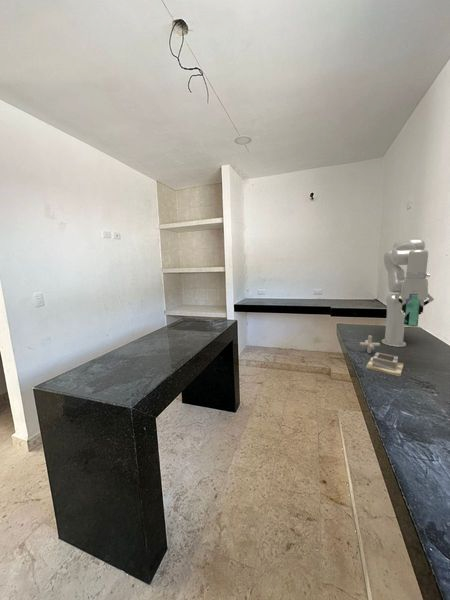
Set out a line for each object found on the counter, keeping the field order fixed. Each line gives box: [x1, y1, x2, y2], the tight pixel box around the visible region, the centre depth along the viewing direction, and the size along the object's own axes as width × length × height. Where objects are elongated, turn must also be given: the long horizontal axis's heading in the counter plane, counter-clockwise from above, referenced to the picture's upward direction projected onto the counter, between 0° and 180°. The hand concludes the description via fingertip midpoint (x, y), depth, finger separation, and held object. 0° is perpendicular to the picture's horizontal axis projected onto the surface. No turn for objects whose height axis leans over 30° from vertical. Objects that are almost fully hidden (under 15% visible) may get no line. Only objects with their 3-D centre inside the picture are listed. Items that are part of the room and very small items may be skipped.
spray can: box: [404, 291, 420, 328], centre depth 118 cm, size 6×6×20 cm
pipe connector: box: [359, 335, 381, 354], centre depth 140 cm, size 10×10×10 cm
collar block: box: [365, 352, 405, 377], centre depth 122 cm, size 14×14×5 cm
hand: (411, 312), depth 119 cm, fingers closed on spray can, 5 cm apart
